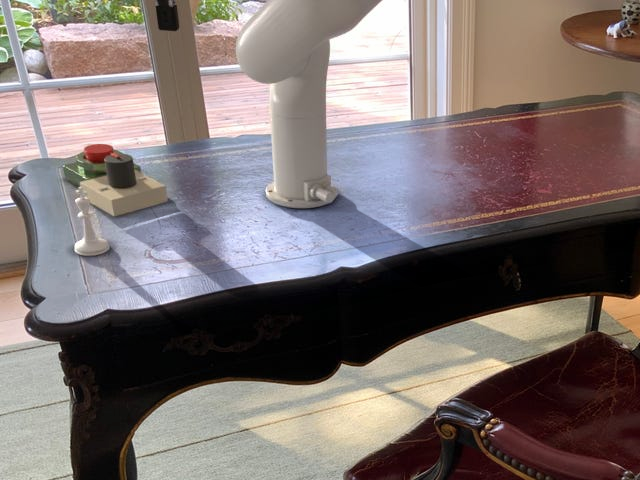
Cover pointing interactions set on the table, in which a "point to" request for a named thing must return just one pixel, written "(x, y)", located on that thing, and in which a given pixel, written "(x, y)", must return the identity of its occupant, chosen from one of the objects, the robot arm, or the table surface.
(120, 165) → the knob
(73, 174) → the switch box
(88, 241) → the chess piece
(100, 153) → the power button
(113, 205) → the panel
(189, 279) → the table surface
